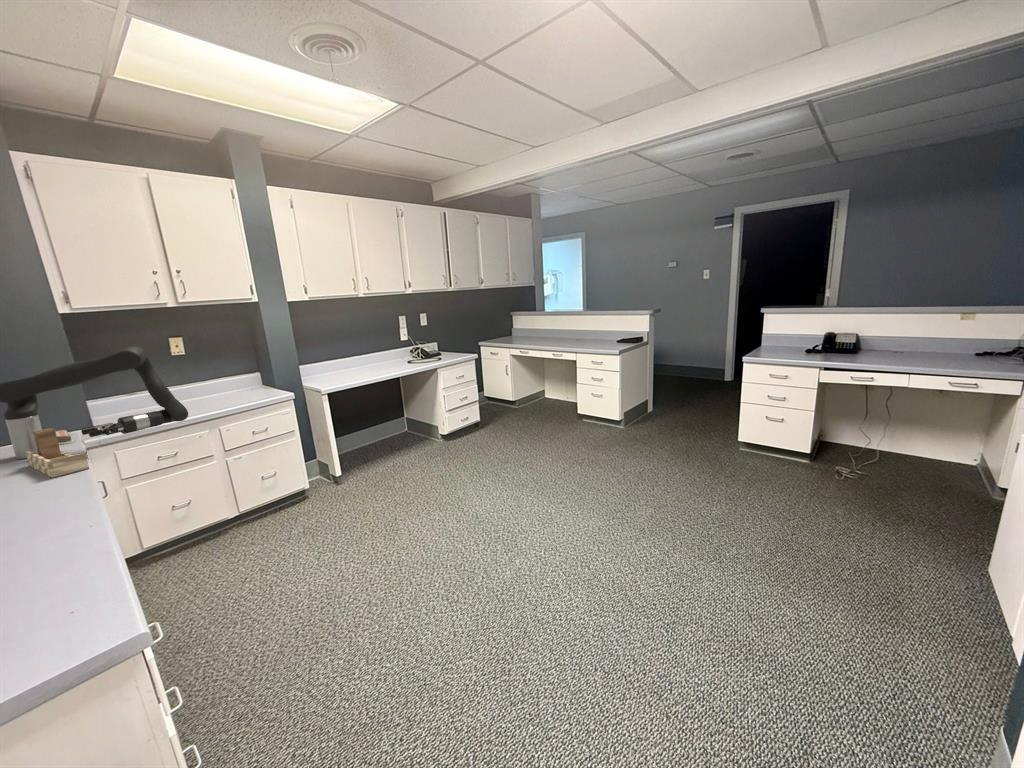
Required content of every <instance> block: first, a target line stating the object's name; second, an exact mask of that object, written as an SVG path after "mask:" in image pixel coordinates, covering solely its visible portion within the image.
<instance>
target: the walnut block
mask: <svg viewBox="0 0 1024 768" xmlns="http://www.w3.org/2000/svg"><path fill="white" fill-rule="evenodd" d="M55 431H56V430H55V429H54V428H51V427H50V428H45V429H42V430H39V431H33V435H34V439H35V443H36V447H37V450H38V454H39V456H42V457H44V458H46V459H52V458H56V457H61V452H60V451H61V450H60V446H59V444H58V440H57V436H56V432H55Z"/></svg>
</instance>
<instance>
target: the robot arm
mask: <svg viewBox="0 0 1024 768" xmlns="http://www.w3.org/2000/svg"><path fill="white" fill-rule="evenodd" d="M130 370H135V371H136V373H137V374H138V375H139V376H140V378H141V380H142V381H143V385H144V386H145V388H146V390H147V392H148V394H149V395H150V396H151V398H152V399H153V400H154V401H155V403H156V404H157V405H158V406H159V407H162V408H163V409H160V410H155V411H150V412H145V413H144V412H143V413H136V414H131V415H127V416H122V417H118V419H117V423H115V422H109V423H103V424H97V425H93V426H92V427H88V428H84V429H81V434H82V435H83V436H85V435H88V436H89V437H90V438H93V437H99V436H105V435H106V436H109V435H114V434H117V433H121V434H123V435H125V434H131V433H135V432H139V431H144V430H146V429H150V428H153V427H154V428H155V427H159V426H161V425H164V424H168V423H173V422H183V421H185V420H187V419H188V417H189V410H188V408H187V407H185V405H184V404H182V403H181V402H180V401H179V400H178V398H176V397H175V396H174V394H173V393H172V392H171V390H170V389H169V388H168V386H167V385H166V384H165V383H164V382H163V380H162V378H161V377H160V376H159V374H158V373H157V371H156V369H155V368H154V367H153V365H152V363H151V361H150V359H149V356H148V355H147V353H146V352H145V350H144V349H142V348H141V347H138V346H135V345H134V346H127V347H125V348H123V349H122V350H121V349H120V351H117V352H115V353H111V354H110V355H108V356H104V357H101V358H96V359H88V360H82V361H76V362H75V361H74V362H71V363H67V364H64V365H61V366H59V367H55V368H52V369H49V370H46V371H43V372H41V373H38V374H35V375H33V376H29V377H24V378H19V379H11V380H6V381H2V382H0V403H4V404H7V408H6V410H5V411H4V413H3V416H4V420H5V423H6V427H7V431H8V434H9V438H10V442H11V444H12V445H11V446H12V449H13V453H14V456H15V459H17V460H23V459H27V456H26V451H31V452H33V453H35V454H37V455H39V454H38V450H37V447H36V443H35V439H34V435H33V431H39V430H43V429H42V424H41V421H40V417H39V412H38V409H39V402H38V397H37V395H38V394H42V393H44V392H45V393H46V392H50V391H55V390H56V391H57V390H60V389H64V388H69V387H70V388H71V387H74V386H78V385H81V384H85V383H88V382H90V381H93V380H96V379H99V378H101V377H104V376H107V375H110V374H114V373H119V372H124V371H130Z"/></svg>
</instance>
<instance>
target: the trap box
mask: <svg viewBox="0 0 1024 768" xmlns="http://www.w3.org/2000/svg"><path fill="white" fill-rule="evenodd" d="M60 452H61V457H56V458H52V459H46V458H44V457H42V456H39V455H37V454H35V453H33V452H31V451H26V456H27V458H26V459H27V463H28V465H29V467H30V468H32V469H34V470H36V471H38V472H40V473H42V474H44V475H46V476H48V477H49V478H50V479H56V478H60V477H63V476H67V475H71V474H75V473H78V472H82V471H85V470H90V467H89V464H88V458H87V455H86V452H82V453H78V454H72V453H69V452H67V451H64V450H60ZM59 476H60V477H59Z"/></svg>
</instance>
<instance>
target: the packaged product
mask: <svg viewBox="0 0 1024 768" xmlns="http://www.w3.org/2000/svg"><path fill="white" fill-rule="evenodd" d="M55 432H56V436H57V440H58V444H59V445H60V446H64V444H65V445H69V443H70V444H74V442H75V443H76V440H75V438H74V436H73V435H72V434H70V433H69V432H68V430H64V429H60V430H55Z"/></svg>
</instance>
